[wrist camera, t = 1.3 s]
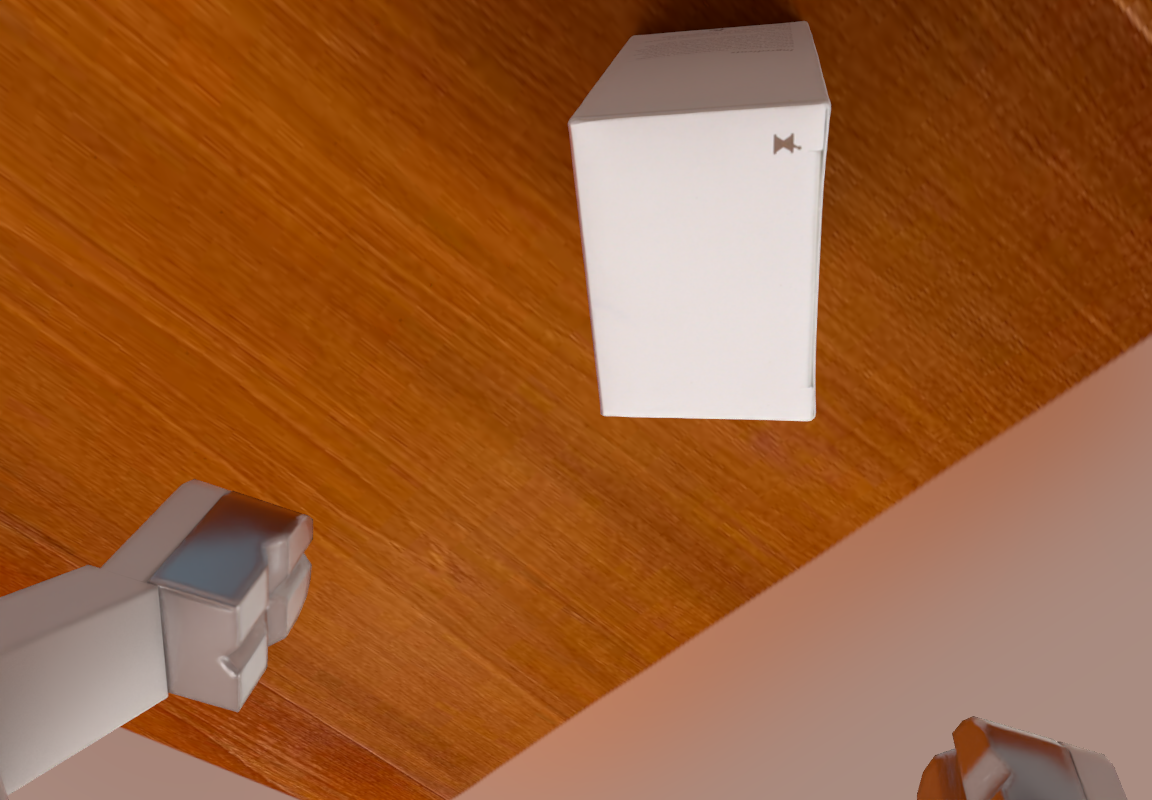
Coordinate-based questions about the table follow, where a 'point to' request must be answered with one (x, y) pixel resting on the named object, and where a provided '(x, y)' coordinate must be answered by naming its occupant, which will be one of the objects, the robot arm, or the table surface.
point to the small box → (704, 222)
